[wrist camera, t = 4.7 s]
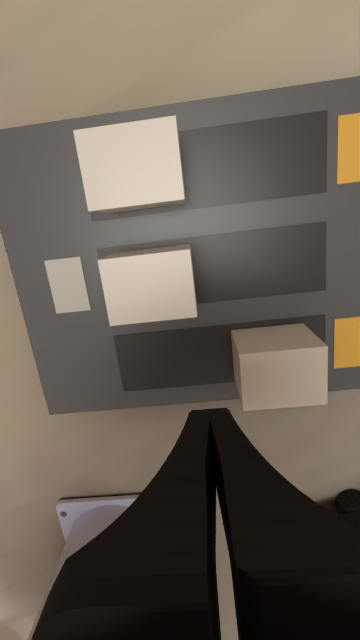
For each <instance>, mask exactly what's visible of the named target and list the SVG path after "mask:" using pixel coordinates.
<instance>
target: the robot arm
mask: <svg viewBox="0 0 360 640" xmlns="http://www.w3.org/2000/svg"><path fill="white" fill-rule="evenodd" d="M216 488H217V493H218V498H219V504H220V509H221V514H222V519H223V525H224V530H225V535H226V540H227V546H228V551H229V557H230V564H231V571H232V581H233V590H234V599H235V609H236V618H237V627H238V637H239V640H360V530H359V529H357V528H355V527H353V526H352V525H350V524H348V523H346V522H345V521H343V520H341V519H340V518H338V517H337V516H335V515H333V514H332V513H330V512H329V511H327V510H326V509H324V508H323V507H321V506H320V505H318V504H317V503H316V502H314V501H313V500H312V499H310V498H309V497H308V496H306V495H305V494H303V493H302V492H301V491H299V490H298V489H297V488H296V487H295V486H293V485H292V484H291V483H290V482H289V481H287V480H286V479H285V478H284V477H283V476H282V475H281V474H280V473H279V472H278V471H277V470H275V469H274V468H273V467H272V466H271V465H270V464H269V462H268V461H267V460H266V459H265V458H264V457H263V456H262V455H261V454H260V453H259V452H258V450H257V449H256V448H255V447H254V446H253V445H252V443H251V442H250V441H249V439H248V438H247V437H246V436H245V434H244V433H243V432H242V430H241V429H240V427H239V426H238V424H237V423H236V421H235V420H234V418H233V416H232V414H231V413H230V410H228V409H227V408H217V409H204V410H192V411H191V412H190V413H189V415H188V418H187V421H186V423H185V426H184V428H183V430H182V432H181V434H180V436H179V438H178V440H177V442H176V444H175V446H174V448H173V449H172V451H171V453H170V454H169V456H168V457H167V459H166V461H165V462H164V464H163V465H162V467H161V468H160V470H159V471H158V473H157V474H156V475H155V477H154V478H153V479H152V481H151V482H150V483H149V484H148V486H147V487H146V488H145V489H144V490H143V492H142V493H141V494H140V495H126V496H111V497H96V498H80V499H65V500H60V501H58V503H57V505H56V511H57V515H58V518H59V522H60V525H61V529H62V532H63V536H64V539H65V546H64V548H63V551H62V553H61V556H60V558H59V561H58V564H57V566H56V569H55V571H54V574H53V576H52V579H51V581H50V584H49V586H48V589H47V592H46V594H45V597H44V599H43V602H42V604H41V607H40V609H39V612H38V614H37V617H36V620H35V622H34V625H33V627H32V630H31V632H30V635H29V637H28V640H221V631H220V617H219V604H218V590H217V576H216V553H215V550H216ZM63 511H64V512H63Z"/></svg>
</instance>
